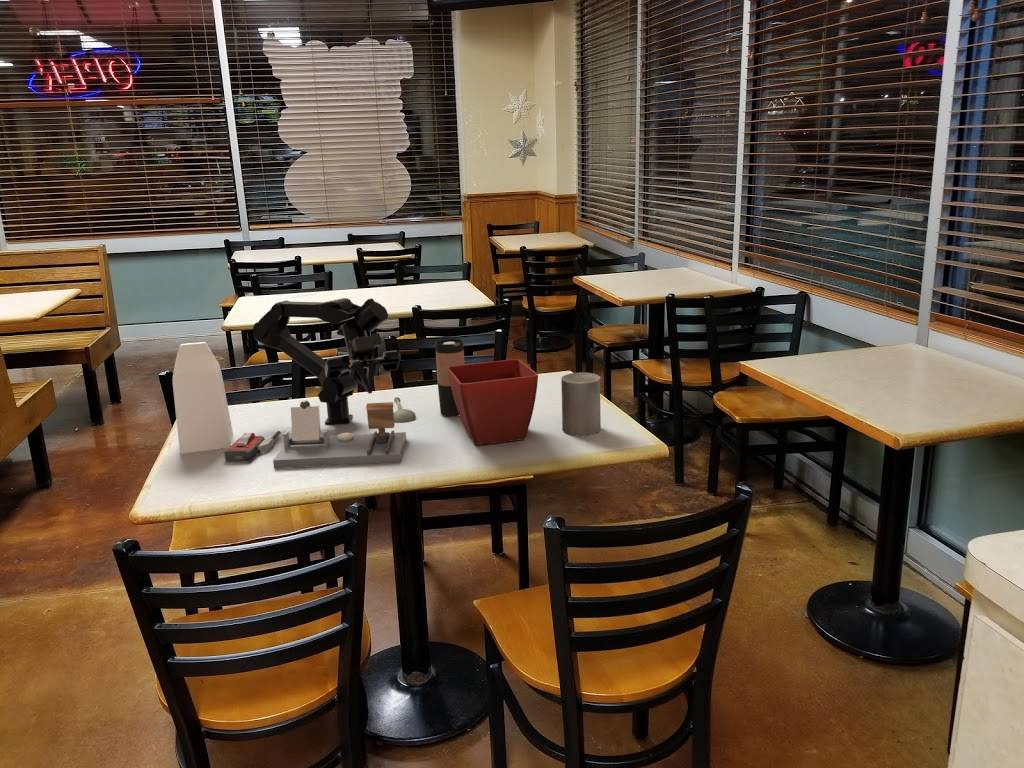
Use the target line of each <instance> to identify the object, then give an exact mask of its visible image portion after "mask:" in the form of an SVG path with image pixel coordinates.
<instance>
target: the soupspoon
mask: <svg viewBox="0 0 1024 768" xmlns="http://www.w3.org/2000/svg"><path fill="white" fill-rule="evenodd" d="M393 400H394V402H395V401H396V404H397V406H398V410H396V411H393V413H394V424H404V423H405V424H407V423H410V422H414V421H415V420H416V416H417V415H416V413H415V412H414V411H413V410H411V409H406V408H405V409H404V408H403V406H402V405H401V402H400V401H401V398H400V397H399V396H398V397H395V398H394V399H393Z"/></svg>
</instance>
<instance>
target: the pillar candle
mask: <svg viewBox="0 0 1024 768" xmlns="http://www.w3.org/2000/svg"><path fill="white" fill-rule="evenodd" d="M560 384H561V419H562V428H561V429H562V432H563V431H564V432H563V433H564V434H567V435H571V436H576V435H578V437H580V436H581V437H582V436H583V435H586V436H591V434H592V435H594V434H596V433H598V432H600V431H601V428H602V427H601V426H602V425H601V419H602V417H601V415H602V414H601V376H599V375H598V374H595V373H591V372H572V373H568V374H565V375H563V376H561V382H560ZM583 437H584V436H583Z"/></svg>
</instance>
